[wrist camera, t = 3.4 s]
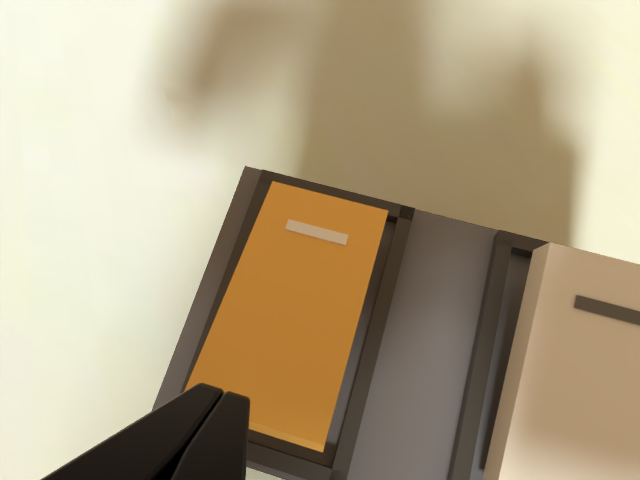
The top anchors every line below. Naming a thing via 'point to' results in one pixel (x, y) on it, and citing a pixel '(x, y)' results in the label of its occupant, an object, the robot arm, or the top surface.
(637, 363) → the white rocker
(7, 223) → the top surface
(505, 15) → the top surface
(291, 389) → the amber rocker
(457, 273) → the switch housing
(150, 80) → the top surface
